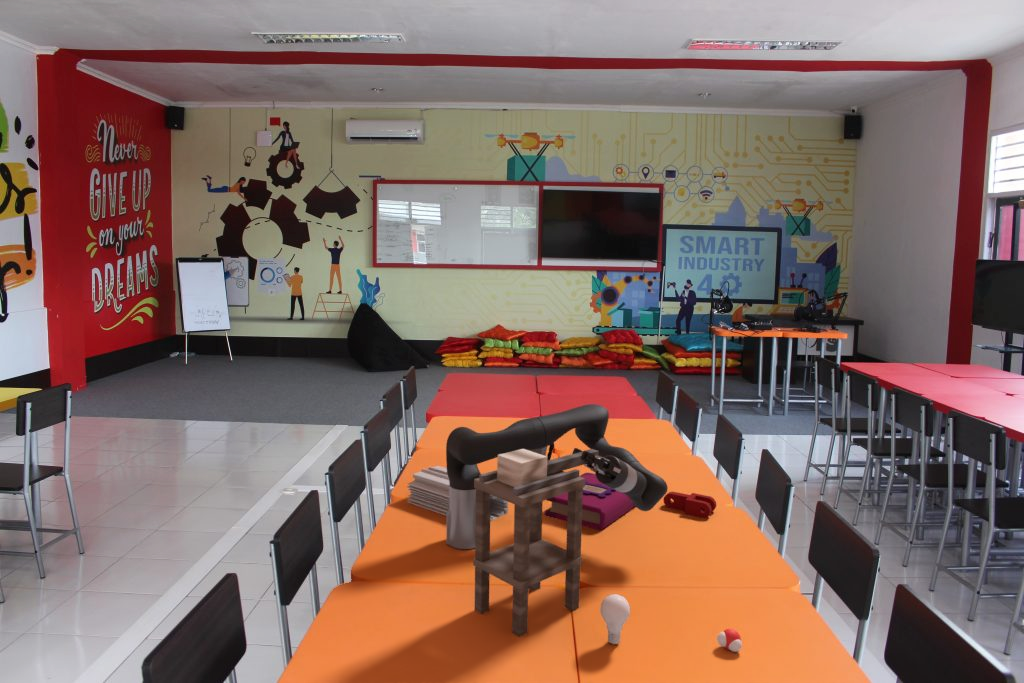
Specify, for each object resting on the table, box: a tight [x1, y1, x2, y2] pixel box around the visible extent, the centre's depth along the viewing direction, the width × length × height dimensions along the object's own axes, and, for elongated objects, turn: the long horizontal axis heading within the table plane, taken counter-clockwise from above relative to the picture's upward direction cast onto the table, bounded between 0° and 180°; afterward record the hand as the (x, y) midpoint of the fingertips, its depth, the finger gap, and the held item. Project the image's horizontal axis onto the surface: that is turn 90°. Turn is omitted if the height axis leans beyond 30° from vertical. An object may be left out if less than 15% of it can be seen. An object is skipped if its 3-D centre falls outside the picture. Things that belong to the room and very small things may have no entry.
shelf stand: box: [472, 468, 585, 638], centre depth 175 cm, size 20×16×34 cm
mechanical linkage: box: [663, 491, 717, 519], centre depth 241 cm, size 16×7×5 cm, turn 59°
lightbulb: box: [600, 593, 631, 645], centre depth 162 cm, size 6×6×11 cm
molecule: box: [716, 628, 743, 653], centre depth 162 cm, size 5×5×4 cm
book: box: [544, 472, 636, 531], centre depth 240 cm, size 21×28×8 cm
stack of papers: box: [406, 465, 509, 522], centre depth 239 cm, size 14×31×10 cm, turn 52°
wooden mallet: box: [496, 448, 599, 487], centre depth 177 cm, size 29×8×6 cm, turn 133°
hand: (578, 453), depth 183 cm, fingers closed on wooden mallet, 2 cm apart
